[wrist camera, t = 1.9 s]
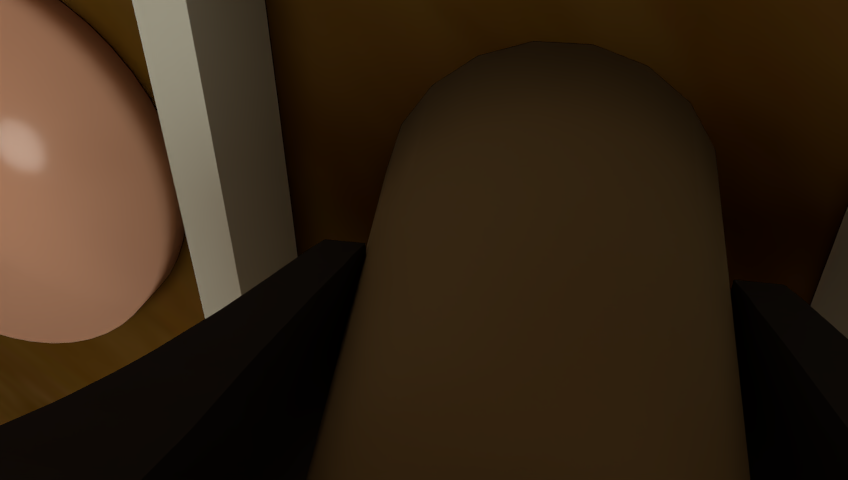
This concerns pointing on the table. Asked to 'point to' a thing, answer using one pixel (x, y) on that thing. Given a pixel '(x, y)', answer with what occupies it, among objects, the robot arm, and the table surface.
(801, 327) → the robot arm
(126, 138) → the peach flat disc
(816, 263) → the table surface
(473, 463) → the brown tapered cylinder
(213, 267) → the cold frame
